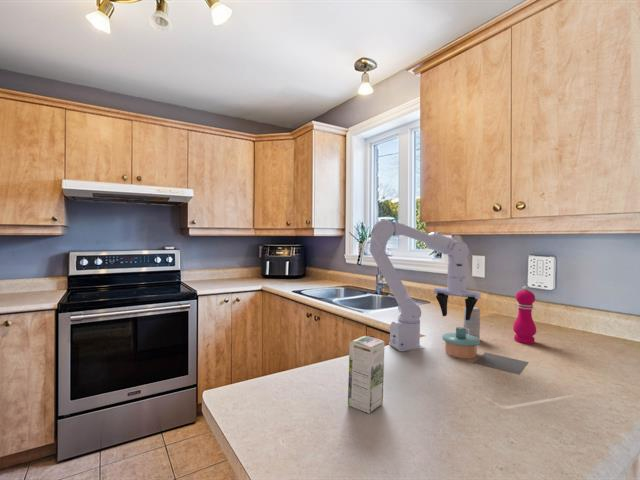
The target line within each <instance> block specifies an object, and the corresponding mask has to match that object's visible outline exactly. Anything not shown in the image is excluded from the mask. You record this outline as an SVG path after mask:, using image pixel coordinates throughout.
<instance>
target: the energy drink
mask: <svg viewBox="0 0 640 480" xmlns="http://www.w3.org/2000/svg"><path fill="white" fill-rule="evenodd" d="M463 328H466V334H468V335H472V336H475V337H477V338H479V339H480V336H481V335H480V333H481V331H480V330H481V309H480V307H479V306H474V308H473V310H472V313H471V317H470V320H466V305H465V306H464V308H463ZM480 340H481V339H480Z"/></svg>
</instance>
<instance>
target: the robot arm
mask: <svg viewBox="0 0 640 480" xmlns="http://www.w3.org/2000/svg"><path fill="white" fill-rule="evenodd" d="M392 236H393V237H397V236H404V237H407V238H409V239H412V240H413V239H414V241H415V240H416V241H419V242H421V243H423V244H425V247H426V248H427V249H429V250H432V251H435V252H437V253H440V254H443V255H447V261H448V262H447V286H446V287H447V288H446V287H434V289H433V293H434V294H435V298H436V300H437V303H438V304H439V306H440V310H441V315H442V317H446V316H447V315H448V300H449V296H454V297H462V298H465V299H464V302H465V306H466V320H470V317H471V313H472V310H473V308H474V306H475V305H476V304H477V302H478V301H479V300H480V299H481V292H479V291H474V290H468V289H467V258H468V255H470V249H469V246H468V245H467V244H466V243H465V242H464V241H459V240H456V238H455V237H453V236H451V237H448V236H446V235H443V234H442V232H441V231H432V232H430V233H427V232H424V231H422V230H419V229H416V228H414V227H411V226H409V225H406V224H404V223H401V222H397V221H390V220H389V219H381V220H378V221H376V223H375V224H374V225H373V227H372V229H371V232H370V243H369V253H370V254H371V257H372V258H373V260H374V261H375V262H374V263H376V266H377V267H378V269H379V271H380V273H381V274H382V277H383V278H384V280H385V282H386V283H387V284H386V285H387V286H388V287H389V289H390V291H391V293H392V295H393V296H394V298H395V300H396V303H397V309H398V311H399V313H400V315H399V316H398V317H397V318H398V319H397V320H395V321H392V322H391V324H390V327H389V342H388V345H390V346H391V347H393V348H394V349H396V350H398V351H399V352H409V351H410V350H413V351H414V350H422V349H426V347H425V346H423V345H422V344H421V343H420V342H421V341H420V339H421V319H420V318H421V316H422V310H421V307H420V306H419V305H418V304H416V302H415V300H413V298H412V297H411V296H410V294H409V292H408V291H407V288H406V287H405V285H404V284H403V282H402V280H401V278H400V276H399V274H398V273H397V271H396V269H395V267H394V265H393V263H392V262H391V260H390V258H389V256H388V254H387V252H386V248H387V244H388V241H389V240H390V239H391V238H392ZM475 307H476V306H475Z"/></svg>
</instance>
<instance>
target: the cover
mask: <svg viewBox="0 0 640 480" xmlns="http://www.w3.org/2000/svg"><path fill="white" fill-rule="evenodd" d="M442 340H443V341H444V342H445V341H446V342H448V343H451V344H455V345H461V346H476V345H477V346H479V345H480V344H481V339H479V338H477V337H475V336H472V335H468V334H466V328H464V326H463V327H461V326H459V327H458V326H457V327H455V332H447V333H443V334H442Z"/></svg>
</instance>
